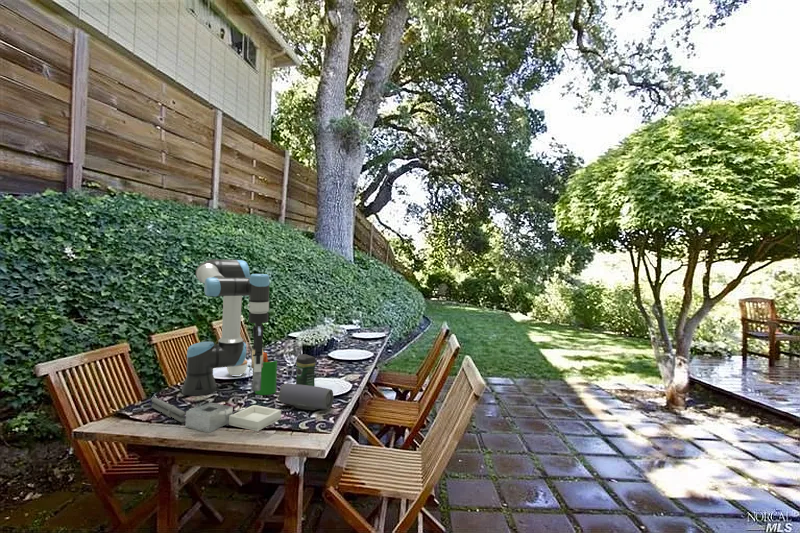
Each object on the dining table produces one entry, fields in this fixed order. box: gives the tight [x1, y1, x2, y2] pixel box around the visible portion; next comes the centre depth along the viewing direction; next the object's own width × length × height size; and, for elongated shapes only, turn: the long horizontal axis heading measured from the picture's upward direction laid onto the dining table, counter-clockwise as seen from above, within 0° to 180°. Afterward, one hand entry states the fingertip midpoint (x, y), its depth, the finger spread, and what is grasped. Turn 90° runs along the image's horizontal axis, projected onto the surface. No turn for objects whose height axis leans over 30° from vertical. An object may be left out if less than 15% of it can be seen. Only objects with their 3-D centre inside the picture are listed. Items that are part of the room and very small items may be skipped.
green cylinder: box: [254, 351, 278, 396], centre depth 202 cm, size 10×9×20 cm
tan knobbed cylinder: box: [250, 348, 264, 392], centre depth 165 cm, size 4×4×16 cm
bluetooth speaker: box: [278, 383, 335, 411], centre depth 182 cm, size 23×9×10 cm, turn 74°
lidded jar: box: [226, 359, 248, 376], centre depth 229 cm, size 11×11×9 cm
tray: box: [228, 404, 282, 432], centre depth 165 cm, size 14×14×4 cm
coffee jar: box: [295, 353, 316, 386], centre depth 204 cm, size 10×8×19 cm
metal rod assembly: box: [151, 396, 186, 424], centre depth 169 cm, size 26×3×5 cm, turn 54°
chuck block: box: [185, 401, 234, 433], centre depth 161 cm, size 12×12×6 cm
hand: (257, 370), depth 165 cm, fingers closed on tan knobbed cylinder, 4 cm apart
